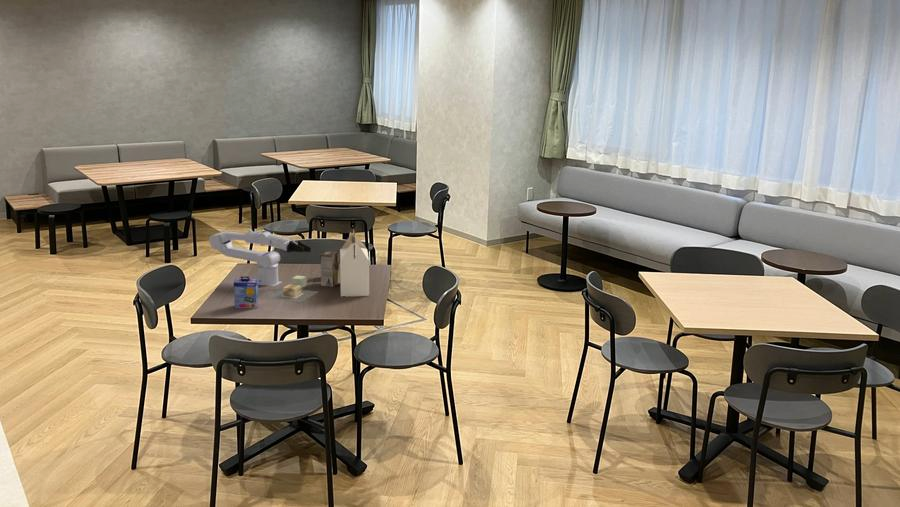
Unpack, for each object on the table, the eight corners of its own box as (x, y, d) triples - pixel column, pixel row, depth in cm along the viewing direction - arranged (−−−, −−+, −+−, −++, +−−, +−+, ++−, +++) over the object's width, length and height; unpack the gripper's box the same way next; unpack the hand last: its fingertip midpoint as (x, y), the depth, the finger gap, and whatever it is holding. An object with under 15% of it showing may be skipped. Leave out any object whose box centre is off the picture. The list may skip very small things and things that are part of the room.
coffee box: (327, 281, 370) (326, 250, 366) (339, 282, 369) (339, 251, 365) (320, 286, 361) (320, 254, 357) (333, 287, 360) (332, 255, 356)
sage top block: (292, 288, 359) (292, 278, 357) (297, 285, 363) (297, 275, 362) (301, 289, 357) (301, 279, 356) (306, 286, 362) (306, 276, 361)
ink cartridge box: (234, 308, 327) (232, 277, 323) (236, 304, 332) (235, 273, 328) (257, 308, 328) (255, 277, 324) (259, 304, 333) (257, 273, 329)
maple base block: (283, 295, 344) (283, 287, 343) (289, 292, 350) (289, 284, 349) (295, 297, 342) (294, 289, 341) (301, 293, 348) (301, 285, 347)
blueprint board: (265, 299, 340) (265, 297, 340) (285, 288, 357) (285, 287, 357) (300, 304, 335) (300, 302, 335) (318, 292, 352) (318, 291, 352)
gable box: (340, 283, 368) (339, 228, 361) (367, 282, 370) (367, 227, 363) (340, 296, 347) (339, 238, 340) (369, 296, 349) (368, 238, 342)
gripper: (276, 234, 349) (302, 241, 346) (290, 235, 363) (315, 241, 360) (272, 249, 350) (298, 256, 346) (286, 249, 364) (311, 255, 360)
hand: (306, 249), depth 353 cm, fingers open, 7 cm apart
